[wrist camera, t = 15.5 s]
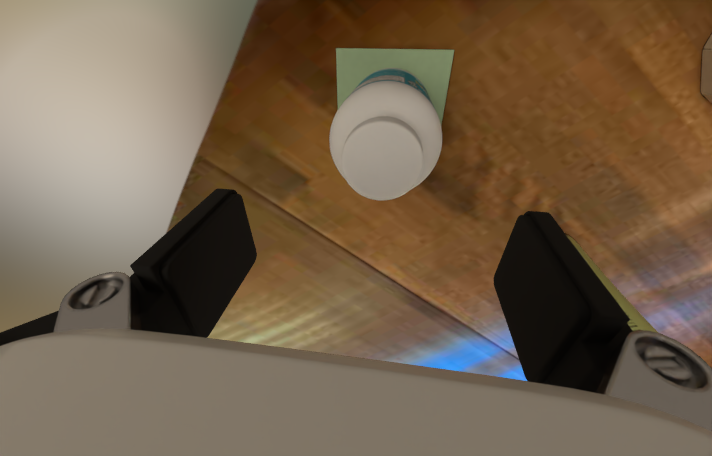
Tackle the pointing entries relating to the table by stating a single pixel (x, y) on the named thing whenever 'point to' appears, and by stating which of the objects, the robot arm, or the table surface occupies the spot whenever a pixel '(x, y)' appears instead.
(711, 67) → the polygonal ring band
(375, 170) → the pill bottle
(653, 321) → the table surface
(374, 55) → the mat
